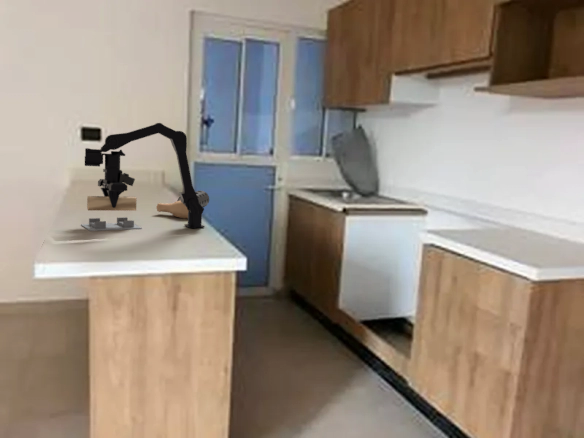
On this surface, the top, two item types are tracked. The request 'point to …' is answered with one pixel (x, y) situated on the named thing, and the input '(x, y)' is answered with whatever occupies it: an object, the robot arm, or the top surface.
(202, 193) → the muzzle brake
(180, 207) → the squash
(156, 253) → the top surface
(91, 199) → the oak rail
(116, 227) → the mount board
